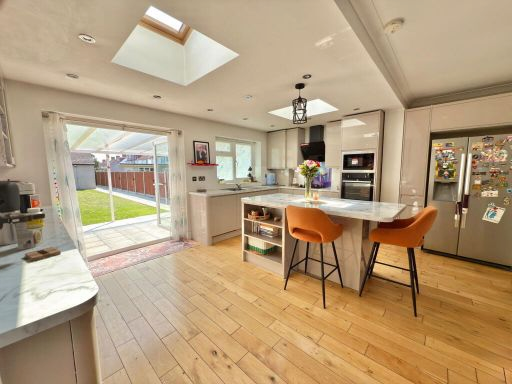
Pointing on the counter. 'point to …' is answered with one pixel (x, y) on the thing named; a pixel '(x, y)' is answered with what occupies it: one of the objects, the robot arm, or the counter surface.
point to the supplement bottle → (35, 223)
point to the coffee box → (27, 236)
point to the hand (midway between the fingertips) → (42, 215)
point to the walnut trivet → (38, 254)
